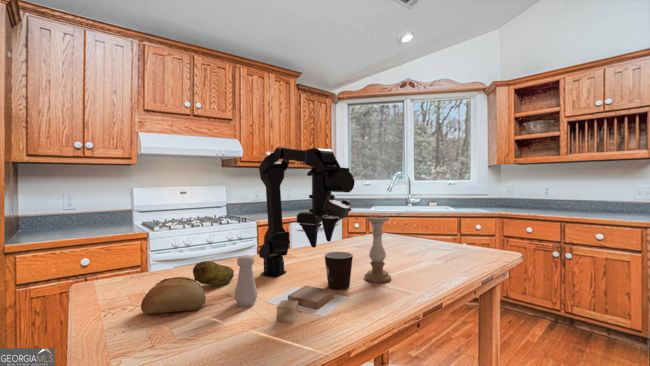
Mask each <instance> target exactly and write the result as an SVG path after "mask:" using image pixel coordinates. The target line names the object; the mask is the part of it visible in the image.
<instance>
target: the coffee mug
mask: <svg viewBox="0 0 650 366" xmlns="http://www.w3.org/2000/svg"><path fill="white" fill-rule="evenodd" d="M324 261H325V262H324V263H325V269H326V270H325V271H326V279H327V286H328V288H329V290H333V291H344V290H347V289H349V288H350V284H351V276H352V266H353V254H352V253H351V252H348V251H332V252H331V251H330V252H326V253H324Z"/></svg>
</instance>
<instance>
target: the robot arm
mask: <svg viewBox="0 0 650 366" xmlns="http://www.w3.org/2000/svg"><path fill="white" fill-rule="evenodd" d="M280 160H281V161H280ZM290 161H294V162H302V163H304V164H305V165H306V166H308V167H310V168H311V169H310V170H309V171H308V172H307V173H306V175H307V177H311V194H309V195H308V198H309V199H311V208H309V209H308V210H309V211H301V212H298V213H297V215H296V223H297V224H299V226H301V229H302V230H303V231H304V232H303V233H305V236H306V237H307V240H308V242H309V244H310V246H311V248H316V247H317V243H318V240H317V239H318V233H319V232H318V231H319V229H320V227H321V226H322V229H323V231H324V236H325V240H326V242H328V243H329V242H331V240H332V237H333V233H334V232H335V228H336V225H337V224H338V222H340V221H341V220H342V219H344V218H348V216H349V213H350V212H351V211H352V206H351V201H350V200H347V199H343V200H342V201H340V200H339V201H338V200H336V196H335V194H332V193H347V194H348V193H350V192H352V190H354V187H355V179H354V176H353V174H352V173H351V172H350V167H341V165H340V164H339V162H338V160H337V158H336V156H335V153H334V150H332V149H330V148H319V147H313V148H307V149H299V148H297V149H296V148H290V147H286V146H277V147H276V148H275V150H274V151H273V152H271V153H270V154H268V155H267V156H265V157H264V159H263V160H262V161H261V163H260V164H259V167H258V170H259V176H260V180H261V182H262V183H263V184H264V186H265V194H266V195H265V196H266V212H267V213H266V214H267V227H268V228H267V230H266V231H265V234H264V235H263V244H262V245H261V247H260V248H259V249H258V256H259V258H261V259H263V272H261V273H260V275H261V276H267V277H273V278H277V277H279V276H281V275H283V274H286V273H287V271H286V270H285V260H284V256H287V255H288V252H289V251H288V250H289V249H290V244H291V240H290V232H289V231H286V229H285V228H284V226H283V225H284V224H283V212H282V197H281V195H282V194H281V192H282V191H281V185H282V183H283V182H284V179H285V172H286V170H287V169H288V167H289V162H290Z"/></svg>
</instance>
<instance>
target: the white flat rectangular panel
mask: <svg viewBox="0 0 650 366" xmlns="http://www.w3.org/2000/svg"><path fill="white" fill-rule="evenodd" d="M301 288H302V287H300V286H293V287H292V288H290V289H289V290H286V291H285V292H283V293H281V294H279V295H277V296H275V297H273V298H271V299H269V300H267V301H265V302H264V303H266V304H269V305H273V306H276V307H277V306H278V304H279V303H280V302H281V301H282V300H288V295H290V294H291V293H293V292H295V291H297V290H299V289H301ZM349 298H350V297H349V296H345V295H340V294H335V293H334V298H333V299H331V300H330V301H329V302H327V303H326V304H324V305H323V306H322V307H320V308H319V309H317V310H316V309H311V308H307V307H303V306H298V312H299V311H300V312H302V313H307V314H311V315H314V316H315V315H316V316H319V317H326V316H327V315H328V314H330V313H331V312H332V311H334V310H335V309H336V308H337V307H338V306H340V305H341V304H342V303H344V302H345V301H346V300H348V299H349Z"/></svg>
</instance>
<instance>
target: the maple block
mask: <svg viewBox="0 0 650 366" xmlns="http://www.w3.org/2000/svg"><path fill="white" fill-rule="evenodd" d="M298 317H299V311H298V301H289V300H282V301H281V302H280V303H279V304H278V306H277V305H276V323H287V324H294V323H295V322H296V320H297V318H298Z"/></svg>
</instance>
